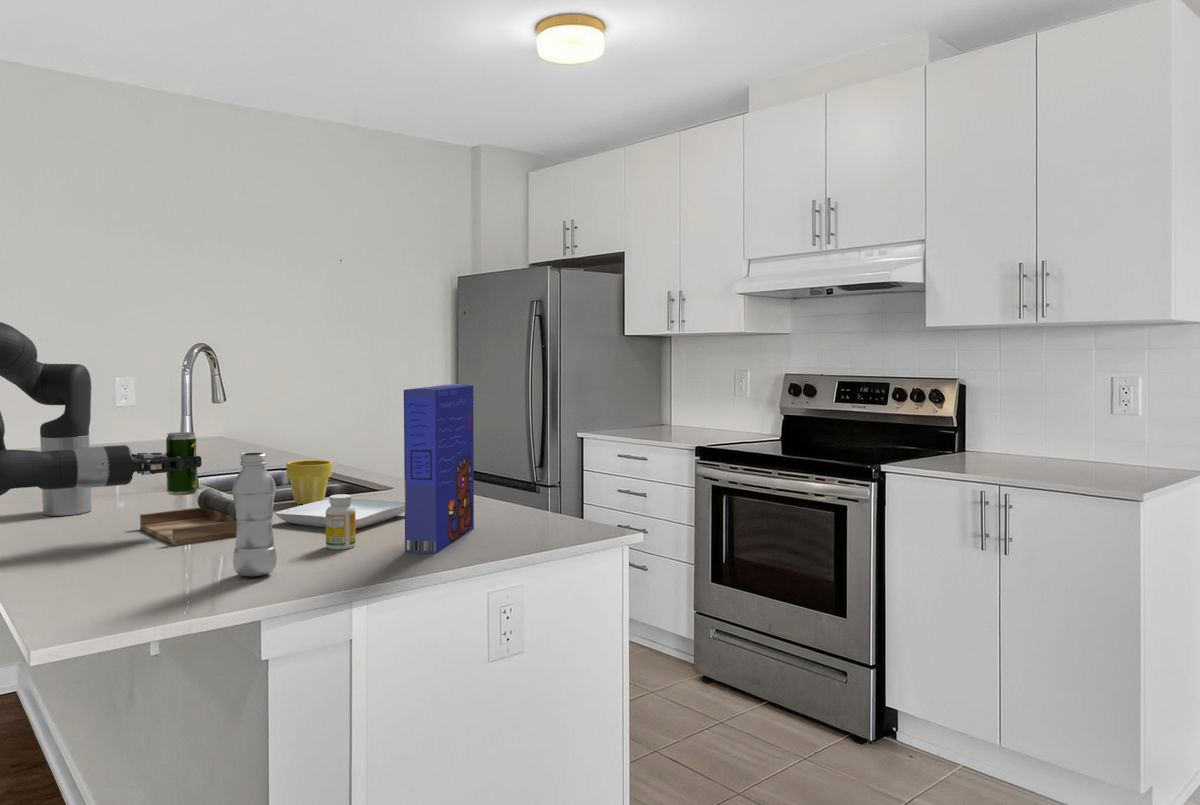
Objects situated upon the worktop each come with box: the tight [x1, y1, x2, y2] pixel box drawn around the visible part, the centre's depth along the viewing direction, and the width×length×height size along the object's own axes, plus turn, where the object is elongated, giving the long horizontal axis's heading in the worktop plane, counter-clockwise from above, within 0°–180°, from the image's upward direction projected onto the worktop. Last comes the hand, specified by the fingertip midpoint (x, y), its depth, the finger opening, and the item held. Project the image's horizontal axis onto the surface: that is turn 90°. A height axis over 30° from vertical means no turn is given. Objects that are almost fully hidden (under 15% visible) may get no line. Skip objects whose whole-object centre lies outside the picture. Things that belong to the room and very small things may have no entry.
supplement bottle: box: [325, 493, 357, 551], centre depth 159 cm, size 5×5×10 cm
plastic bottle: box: [231, 452, 278, 578], centre depth 139 cm, size 6×7×20 cm
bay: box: [139, 487, 237, 546], centre depth 172 cm, size 20×16×7 cm
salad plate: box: [275, 497, 405, 530], centre depth 184 cm, size 21×21×3 cm
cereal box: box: [403, 383, 475, 555], centre depth 165 cm, size 22×6×30 cm, turn 170°
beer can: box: [165, 431, 198, 496], centre depth 169 cm, size 5×5×12 cm
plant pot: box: [286, 459, 333, 505], centre depth 205 cm, size 10×10×10 cm
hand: (194, 460), depth 171 cm, fingers closed on beer can, 5 cm apart
